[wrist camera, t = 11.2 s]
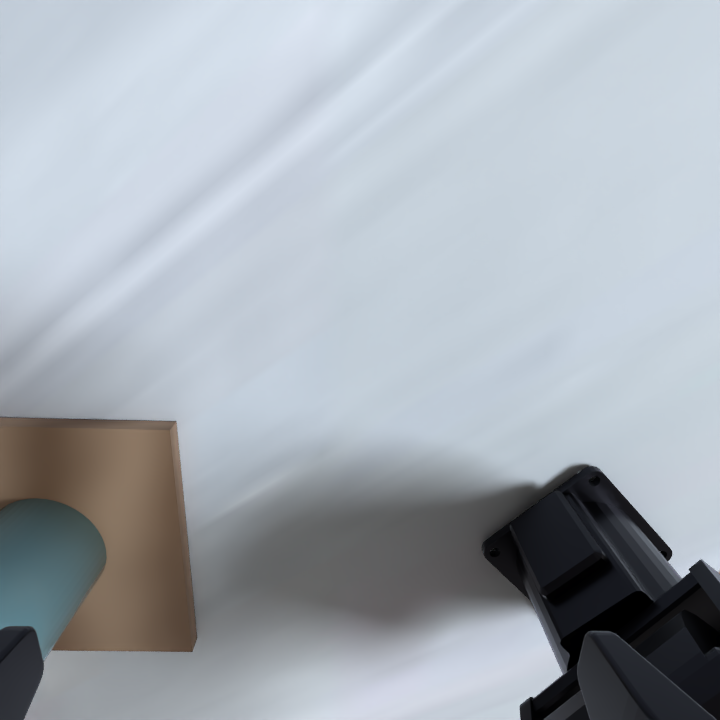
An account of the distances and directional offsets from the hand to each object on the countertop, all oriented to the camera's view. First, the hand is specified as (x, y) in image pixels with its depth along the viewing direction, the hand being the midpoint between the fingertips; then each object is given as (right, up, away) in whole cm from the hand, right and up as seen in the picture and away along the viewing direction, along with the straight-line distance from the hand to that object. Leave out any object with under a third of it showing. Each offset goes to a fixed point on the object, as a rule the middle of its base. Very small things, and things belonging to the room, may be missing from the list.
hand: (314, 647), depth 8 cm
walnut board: (-13, -3, +15) cm, 20 cm away
